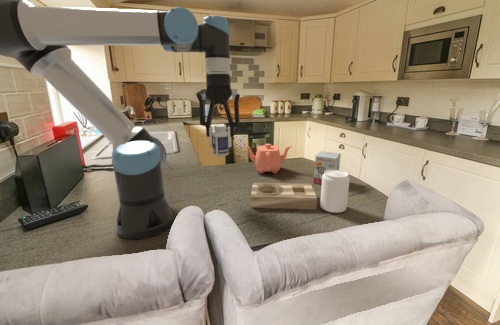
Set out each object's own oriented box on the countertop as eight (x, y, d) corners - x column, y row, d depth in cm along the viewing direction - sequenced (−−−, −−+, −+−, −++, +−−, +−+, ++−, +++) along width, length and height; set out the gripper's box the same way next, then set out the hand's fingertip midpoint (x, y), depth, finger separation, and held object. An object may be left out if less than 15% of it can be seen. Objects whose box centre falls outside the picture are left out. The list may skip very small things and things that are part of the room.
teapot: (291, 170, 118) (292, 144, 114) (265, 179, 108) (265, 150, 105) (269, 163, 129) (270, 139, 126) (243, 170, 119) (243, 144, 116)
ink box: (312, 183, 103) (314, 155, 100) (317, 176, 111) (319, 150, 107) (334, 186, 99) (337, 157, 96) (338, 179, 107) (341, 152, 103)
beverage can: (326, 200, 88) (328, 167, 84) (349, 207, 83) (353, 172, 79) (315, 209, 82) (318, 174, 78) (340, 217, 77) (344, 179, 73)
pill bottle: (231, 153, 88) (231, 125, 85) (224, 157, 83) (223, 127, 80) (218, 151, 90) (217, 124, 87) (210, 155, 85) (208, 126, 82)
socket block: (316, 209, 82) (317, 197, 80) (250, 207, 83) (250, 196, 82) (310, 193, 93) (310, 183, 92) (252, 192, 94) (252, 182, 93)
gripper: (248, 73, 82) (248, 144, 89) (192, 74, 83) (197, 143, 90) (246, 72, 75) (247, 149, 82) (185, 73, 76) (190, 148, 83)
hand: (220, 146), depth 86 cm, fingers closed on pill bottle, 5 cm apart
